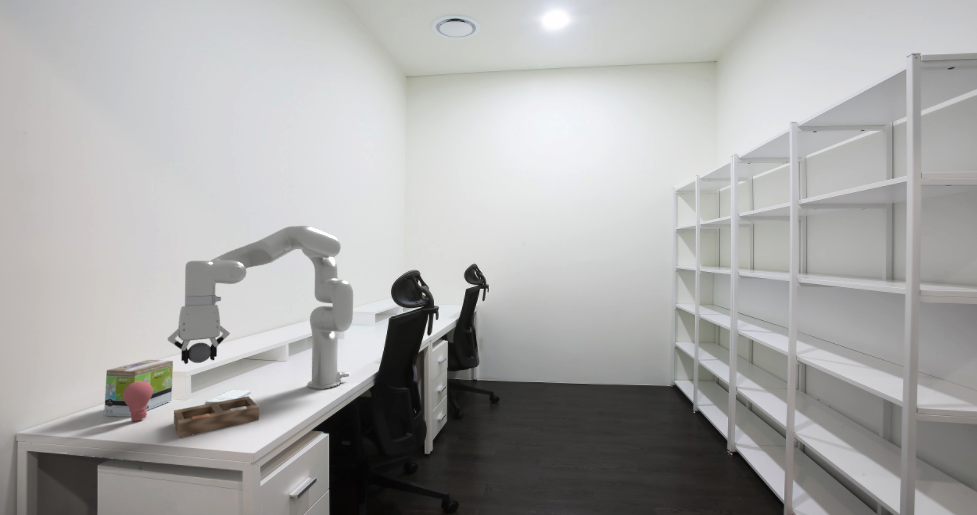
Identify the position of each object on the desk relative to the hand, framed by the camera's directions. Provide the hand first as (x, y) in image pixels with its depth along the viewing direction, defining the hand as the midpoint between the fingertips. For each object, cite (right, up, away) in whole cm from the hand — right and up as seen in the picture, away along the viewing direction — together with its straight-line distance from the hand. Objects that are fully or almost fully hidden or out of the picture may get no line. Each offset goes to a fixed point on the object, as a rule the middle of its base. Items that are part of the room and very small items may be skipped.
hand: (199, 360), depth 123 cm
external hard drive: (-6, -20, +24) cm, 32 cm away
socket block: (+3, -20, +3) cm, 20 cm away
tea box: (-29, -20, +14) cm, 38 cm away
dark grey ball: (0, +2, 0) cm, 2 cm away
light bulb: (-21, -20, +3) cm, 29 cm away
